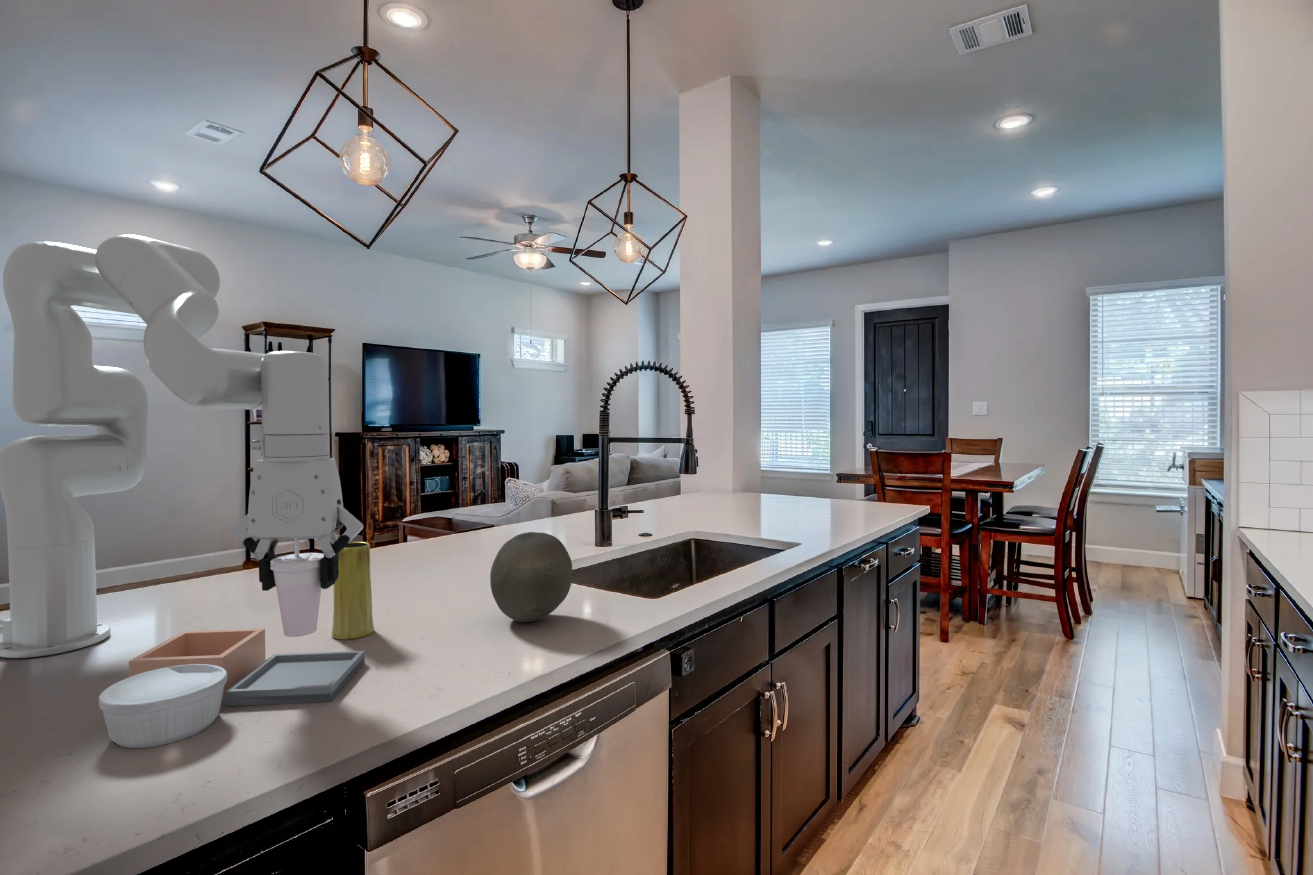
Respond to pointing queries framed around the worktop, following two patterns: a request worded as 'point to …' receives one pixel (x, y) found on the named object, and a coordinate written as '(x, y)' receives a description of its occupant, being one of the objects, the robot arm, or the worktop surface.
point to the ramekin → (163, 704)
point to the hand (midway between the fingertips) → (299, 585)
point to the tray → (296, 678)
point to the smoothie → (298, 590)
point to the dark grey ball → (531, 576)
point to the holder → (207, 652)
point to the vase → (353, 593)
